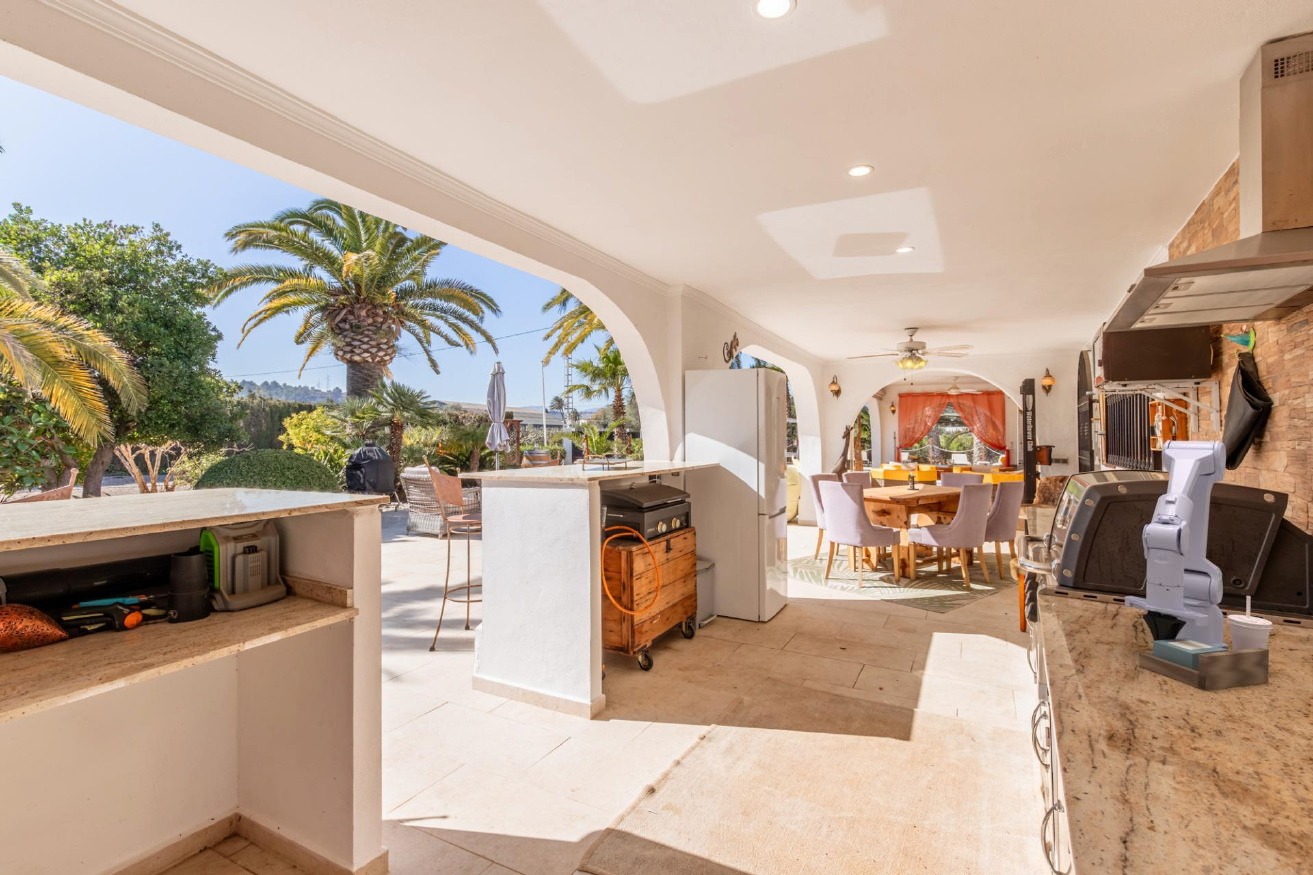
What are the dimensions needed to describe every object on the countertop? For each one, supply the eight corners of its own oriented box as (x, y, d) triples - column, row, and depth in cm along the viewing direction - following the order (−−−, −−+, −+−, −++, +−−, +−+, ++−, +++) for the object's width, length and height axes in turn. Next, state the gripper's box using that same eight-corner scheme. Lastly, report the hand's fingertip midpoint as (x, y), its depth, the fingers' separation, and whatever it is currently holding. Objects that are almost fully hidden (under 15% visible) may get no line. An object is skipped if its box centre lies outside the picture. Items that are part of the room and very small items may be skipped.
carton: (1187, 662, 123) (1188, 637, 123) (1227, 676, 116) (1228, 649, 116) (1152, 666, 120) (1153, 640, 120) (1191, 680, 114) (1192, 653, 114)
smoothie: (1262, 666, 121) (1263, 595, 121) (1278, 678, 115) (1280, 603, 115) (1220, 661, 124) (1221, 591, 123) (1234, 672, 118) (1235, 598, 118)
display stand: (1197, 659, 124) (1198, 630, 124) (1268, 682, 113) (1268, 650, 113) (1138, 666, 120) (1139, 635, 120) (1205, 690, 109) (1206, 656, 109)
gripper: (1113, 576, 129) (1112, 641, 129) (1189, 593, 115) (1188, 666, 115) (1140, 574, 131) (1138, 638, 131) (1217, 592, 117) (1216, 663, 117)
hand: (1163, 651), depth 123 cm, fingers closed
